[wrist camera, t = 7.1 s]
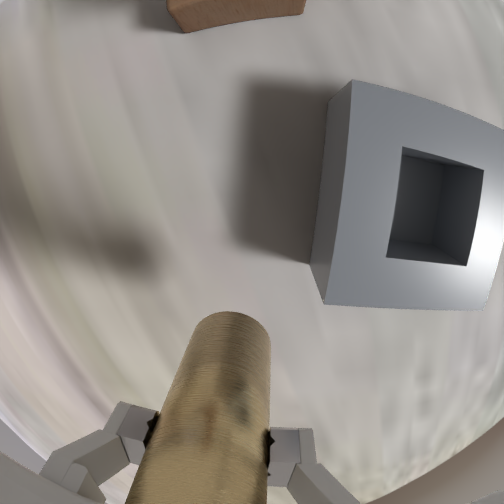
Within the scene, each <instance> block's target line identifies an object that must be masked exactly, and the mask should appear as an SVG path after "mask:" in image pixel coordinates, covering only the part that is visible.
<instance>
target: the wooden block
mask: <svg viewBox="0 0 504 504" xmlns="http://www.w3.org/2000/svg"><path fill="white" fill-rule="evenodd" d="M166 3H167V10H168V12H169V13H170V14H171V16H172V17H173V18H174V20H175V21H176V22H177V24H178V25H179V26H180V28H181V29H182V30H183V32H184V33H190V32H194V31H198V30H202V29H206V28H211V27H216V26H220V25H225V24H231V23H236V22H242V21H249V20H255V19H263V18H271V17H280V16H292V15H300V14H302V13H303V11H304V7H305V3H306V0H166Z"/></svg>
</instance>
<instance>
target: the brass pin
mask: <svg viewBox="0 0 504 504" xmlns="http://www.w3.org/2000/svg"><path fill="white" fill-rule="evenodd" d="M270 365H271V343H270V338H269V336H268V333H267V332H266V330H265V329H264V327H263V326H262V325H261V324H260V323H259V322H257V321H256V320H255V319H253V318H251V317H250V316H247V315H245V314H242V313H238V312H229V311H226V312H218V313H214V314H211V315H209V316H207V317H206V318H204V319H203V320H202V321H200V322H199V324H198V325H197V326H196V328H195V330H194V332H193V335H192V337H191V339H190V342H189V344H188V346H187V349H186V351H185V354H184V356H183V358H182V361H181V363H180V366H179V368H178V370H177V373H176V375H175V378H174V380H173V383H172V385H171V387H170V390H169V392H168V395H167V397H166V400H165V402H164V405H163V407H162V410H161V412H160V415H159V417H158V420H157V422H156V425H155V427H154V430H153V432H152V435H151V437H150V440H149V442H148V445H147V447H146V450H145V452H144V455H143V457H142V460H141V463H140V465H139V468H138V470H137V473H136V476H135V478H134V481H133V483H132V486H131V489H130V491H129V494H128V497H127V499H126V502H125V504H267V481H268V451H269V445H268V444H269V415H270Z"/></svg>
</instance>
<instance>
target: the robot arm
mask: <svg viewBox="0 0 504 504" xmlns="http://www.w3.org/2000/svg"><path fill="white" fill-rule="evenodd" d="M158 417H159V411H155V410H151V409H147V408H143V407H140V406H136V405H132V404H129V403H125V402H122V401H120V402H119V403H118V404H117V406H116V407H115V409H114V411H113V413H112V414H111V416H110V418H109V420H108V422H107V423H106V425H105V427H104V429H103V430H100V429H99V430H97V431H95V432H93V433H91V434H89V435H87V436H85V437H83V438H81V439H79V440H77V441H75V442H73V443H70V444H68V445H66V446H64V447H62V448H60V449H58V450H55V451H53V452H52V454H51V456H50V457H49V459H48V460H47V462H46V464H45V465H44V467H43V468H42V470H41V472H40V473H39V474H36V473H35V472H33V471H31V470H30V469H28V468H26V467H25V466H23V465H21V464H20V463H18V462H16V461H15V460H13V459H12V458H10V457H8V456H7V455H5V454H4V453H2V452H1V451H0V504H104V503H105V501H106V498H105V496H104V494H103V493H102V491H101V490H100V489H99V487H98V486H99V485H101V484H102V483H103V482H105V481H106V480H108V479H109V478H111V477H112V476H114V475H115V474H116V473H118V472H119V471H121V470H122V469H123V468H125V467H126V466H127V465H129V464H130V463H133V464H137V465H140V463H141V460H142V457H143V455H144V452H145V450H146V447H147V445H148V442H149V440H150V437H151V435H152V432H153V430H154V427H155V425H156V422H157V420H158ZM268 445H269V451H268V481H267V486H277V487H287V489H288V490H289V492H290V493H291V495H292V496H293V498H294V499H295V500H296V502H297V503H298V504H360V502H359V501H358V500H357V499H356V498H355V497H354V496H353V495H352V494H351V493H349V492H348V491H347V490H346V489H345V488H344V487H343V486H342V485H341V484H340V483H339V482H338V481H337V480H336V479H335V478H334V477H333V476H332V475H331V473H330V472H329V471H328V470H327V469H326V468H325V467H324V466H323V465H322V464H321V463H317V460H316V451H315V442H314V434H313V430H312V429H311V428H284V427H270V429H269V444H268ZM467 504H504V491H503V490H497V491H495V492H492V493H490V494H488V495H486V496H484V497H481V498H479V499H477V500H474V501H472V502H469V503H467Z"/></svg>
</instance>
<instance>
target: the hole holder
mask: <svg viewBox="0 0 504 504" xmlns="http://www.w3.org/2000/svg"><path fill="white" fill-rule="evenodd" d="M503 240H504V130H502V129H500V128H498V127H496V126H494V125H492V124H490V123H487V122H485V121H483V120H480V119H478V118H476V117H473V116H471V115H469V114H466V113H464V112H461V111H459V110H456V109H453V108H451V107H448V106H445V105H442V104H439V103H437V102H434V101H431V100H428V99H425V98H422V97H418V96H415V95H412V94H408V93H405V92H402V91H398V90H394V89H391V88H387V87H383V86H379V85H375V84H370V83H366V82H362V81H357V80H351V81H350V82H349V83H348V84H347V85H346V86H345V87H344V88H342V89H341V90H340V91H339V92H338V93H337V94H336V95H335V96H334V97H333V98H332V99H331V100H330V101H329V102H328V109H327V122H326V133H325V144H324V154H323V164H322V173H321V182H320V191H319V199H318V207H317V215H316V223H315V230H314V237H313V244H312V251H311V258H310V268H311V271H312V273H313V276H314V279H315V281H316V284H317V287H318V289H319V292H320V295H321V298H322V300H323V303H324V304H327V305H341V306H357V307H374V308H395V309H420V310H460V311H483V310H484V307H485V304H486V301H487V298H488V295H489V292H490V289H491V286H492V283H493V279H494V276H495V272H496V269H497V265H498V261H499V257H500V253H501V249H502V245H503Z"/></svg>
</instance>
